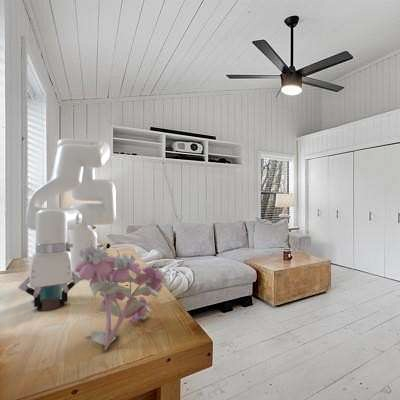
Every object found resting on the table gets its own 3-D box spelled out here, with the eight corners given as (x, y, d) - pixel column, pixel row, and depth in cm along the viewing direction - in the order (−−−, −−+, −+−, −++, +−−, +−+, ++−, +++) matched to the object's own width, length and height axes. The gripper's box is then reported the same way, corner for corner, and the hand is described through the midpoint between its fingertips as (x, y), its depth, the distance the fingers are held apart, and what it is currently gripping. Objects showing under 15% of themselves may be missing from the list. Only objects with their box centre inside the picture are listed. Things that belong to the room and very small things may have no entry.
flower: (188, 330, 74) (179, 236, 83) (78, 355, 57) (82, 235, 66) (156, 341, 85) (151, 258, 94) (57, 364, 69) (62, 261, 78)
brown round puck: (52, 303, 94) (52, 296, 94) (66, 304, 94) (66, 297, 94) (35, 309, 89) (35, 302, 89) (50, 311, 89) (50, 303, 88)
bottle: (50, 294, 103) (50, 252, 103) (67, 296, 102) (68, 253, 102) (28, 302, 96) (28, 256, 96) (47, 303, 95) (47, 257, 94)
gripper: (84, 244, 100) (84, 297, 100) (15, 249, 89) (14, 309, 89) (86, 247, 94) (85, 303, 94) (12, 253, 83) (11, 317, 83)
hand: (51, 305), depth 91 cm, fingers closed on brown round puck, 5 cm apart
